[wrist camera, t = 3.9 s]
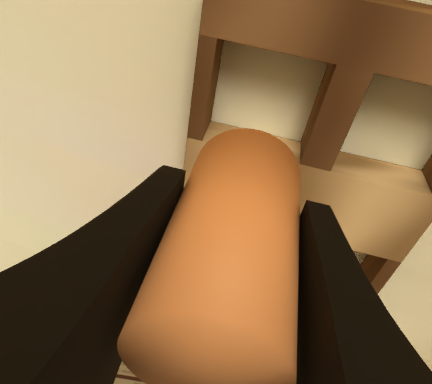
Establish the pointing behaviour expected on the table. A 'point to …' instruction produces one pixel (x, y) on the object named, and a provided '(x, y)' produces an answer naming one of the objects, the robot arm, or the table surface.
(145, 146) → the table surface
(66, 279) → the robot arm
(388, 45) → the wooden grid frame
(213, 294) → the loose pin
